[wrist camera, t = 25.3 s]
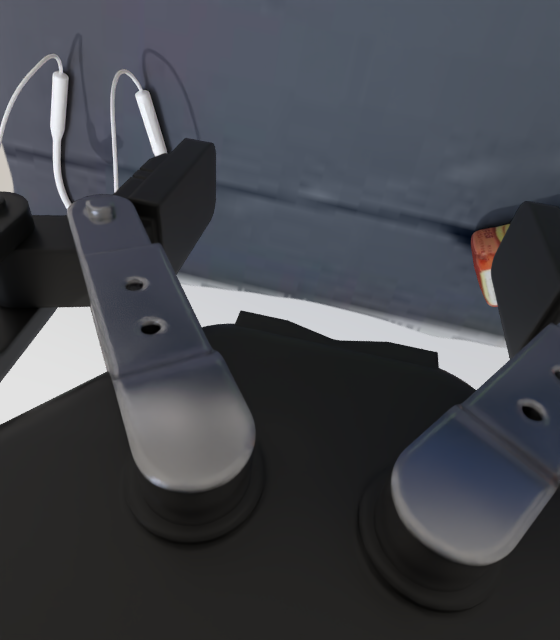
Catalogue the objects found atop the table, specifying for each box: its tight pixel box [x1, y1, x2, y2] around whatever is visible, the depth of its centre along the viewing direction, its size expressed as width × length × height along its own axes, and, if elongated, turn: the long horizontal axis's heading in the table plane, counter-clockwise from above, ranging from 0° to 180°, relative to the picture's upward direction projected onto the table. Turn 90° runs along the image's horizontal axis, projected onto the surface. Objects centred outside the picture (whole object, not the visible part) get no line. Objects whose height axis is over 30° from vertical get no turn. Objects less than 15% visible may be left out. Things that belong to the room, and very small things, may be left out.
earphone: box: [0, 54, 167, 209], centre depth 45 cm, size 14×17×18 cm
